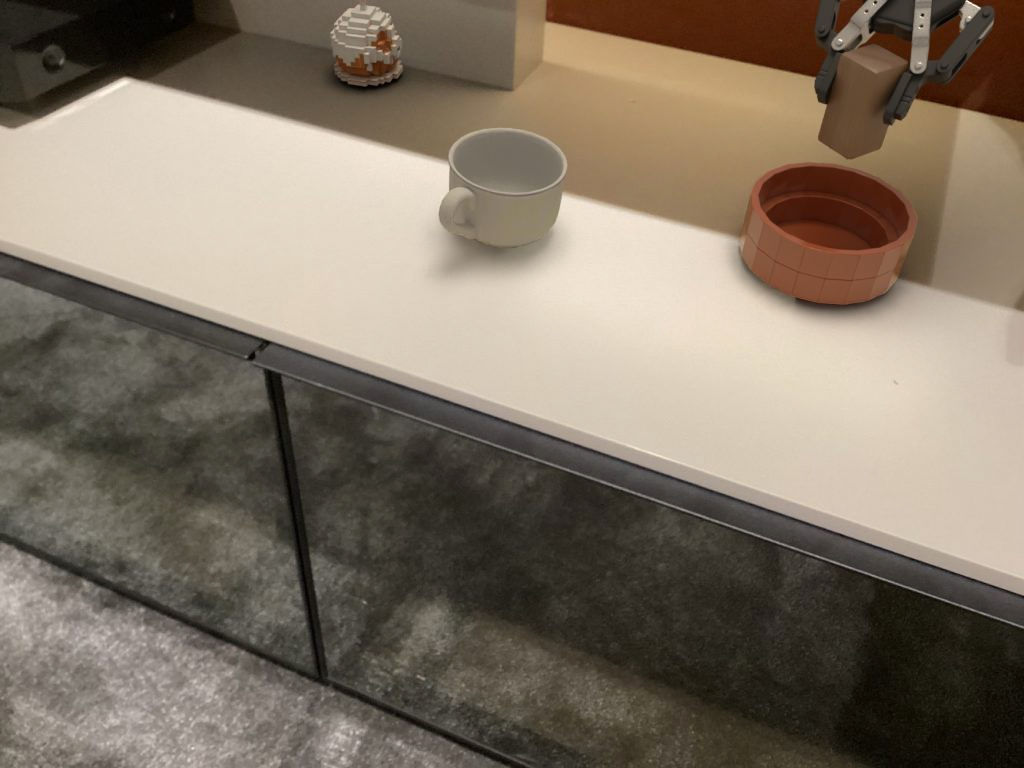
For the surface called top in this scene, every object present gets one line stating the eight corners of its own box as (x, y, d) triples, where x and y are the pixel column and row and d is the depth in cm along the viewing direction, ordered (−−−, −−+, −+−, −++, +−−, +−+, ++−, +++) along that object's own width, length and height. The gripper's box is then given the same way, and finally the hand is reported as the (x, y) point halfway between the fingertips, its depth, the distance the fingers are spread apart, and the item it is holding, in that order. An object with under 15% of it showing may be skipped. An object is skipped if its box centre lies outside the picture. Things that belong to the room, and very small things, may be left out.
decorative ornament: (389, 94, 110) (380, -40, 100) (325, 85, 112) (310, -48, 101) (410, 64, 116) (403, -66, 105) (349, 55, 117) (336, -74, 107)
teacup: (513, 185, 98) (515, 114, 92) (585, 236, 92) (592, 162, 86) (400, 235, 91) (394, 161, 85) (470, 292, 85) (469, 217, 80)
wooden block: (848, 128, 84) (874, 41, 79) (882, 150, 82) (912, 61, 76) (814, 140, 83) (839, 52, 77) (848, 162, 80) (876, 72, 75)
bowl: (904, 237, 93) (924, 183, 89) (885, 326, 83) (907, 271, 79) (756, 201, 97) (769, 149, 92) (722, 284, 87) (735, 229, 83)
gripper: (860, -133, 76) (765, 67, 78) (1048, -93, 71) (943, 122, 72) (864, -82, 83) (777, 101, 84) (1036, -41, 78) (940, 154, 79)
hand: (854, 109), depth 78 cm, fingers closed on wooden block, 5 cm apart
